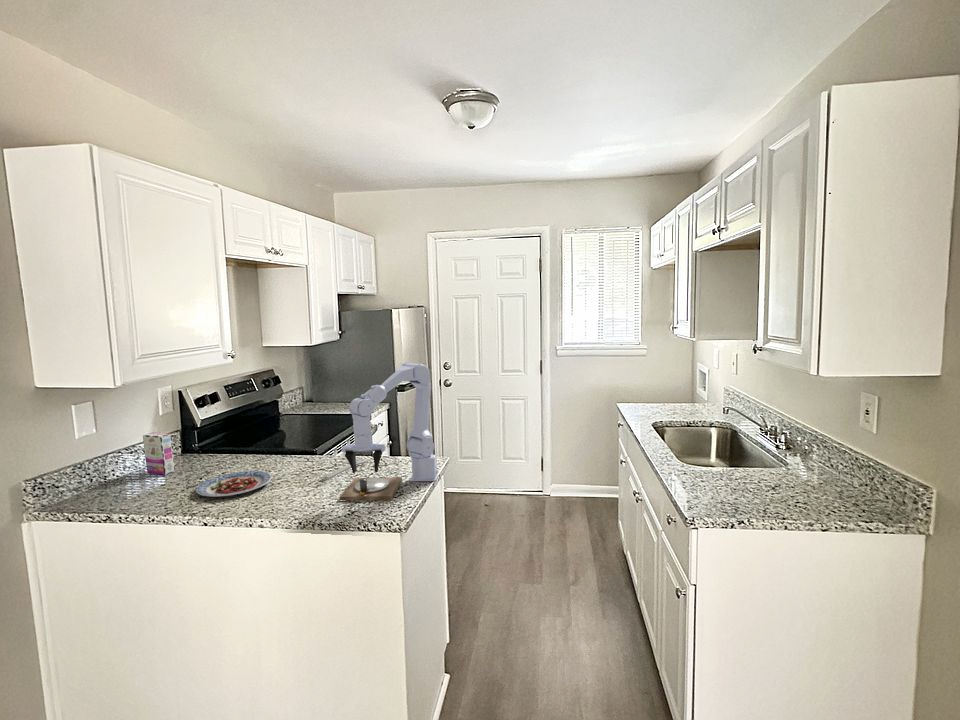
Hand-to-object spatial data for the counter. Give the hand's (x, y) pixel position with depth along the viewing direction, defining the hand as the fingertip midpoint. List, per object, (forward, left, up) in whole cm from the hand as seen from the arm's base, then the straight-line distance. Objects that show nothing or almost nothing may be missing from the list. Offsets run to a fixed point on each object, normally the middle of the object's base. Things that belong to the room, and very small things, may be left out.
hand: (365, 471), depth 180 cm
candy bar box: (+96, -31, -10) cm, 101 cm away
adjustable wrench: (+18, -29, -10) cm, 36 cm away
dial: (0, -6, -8) cm, 10 cm away
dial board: (0, -6, -9) cm, 11 cm away
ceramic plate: (+54, -12, -10) cm, 56 cm away
